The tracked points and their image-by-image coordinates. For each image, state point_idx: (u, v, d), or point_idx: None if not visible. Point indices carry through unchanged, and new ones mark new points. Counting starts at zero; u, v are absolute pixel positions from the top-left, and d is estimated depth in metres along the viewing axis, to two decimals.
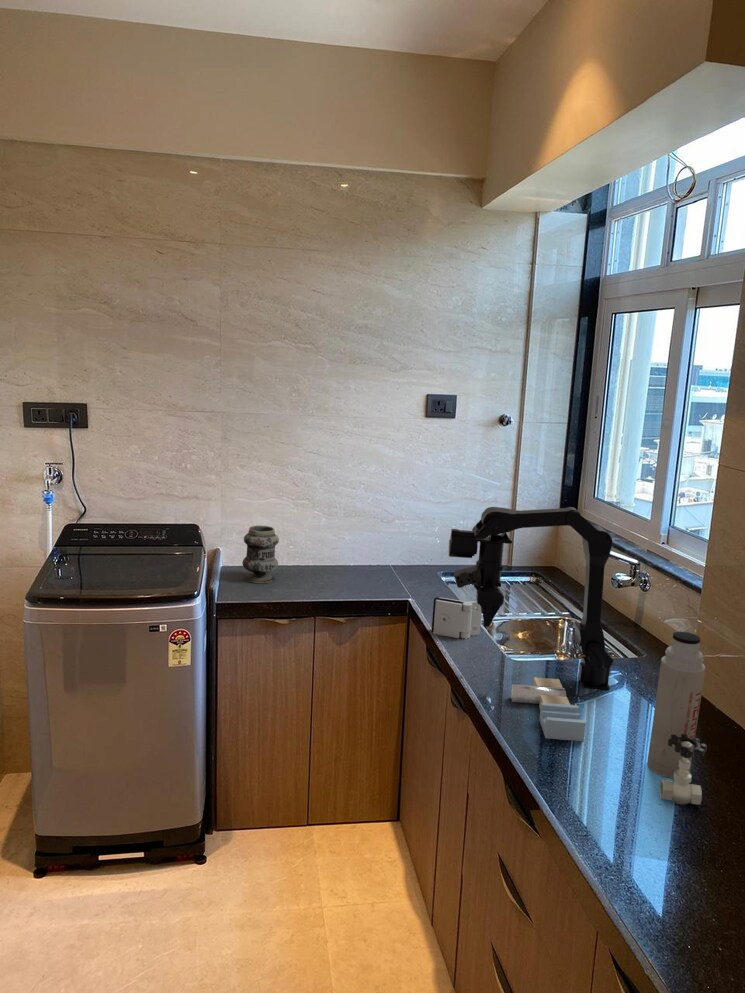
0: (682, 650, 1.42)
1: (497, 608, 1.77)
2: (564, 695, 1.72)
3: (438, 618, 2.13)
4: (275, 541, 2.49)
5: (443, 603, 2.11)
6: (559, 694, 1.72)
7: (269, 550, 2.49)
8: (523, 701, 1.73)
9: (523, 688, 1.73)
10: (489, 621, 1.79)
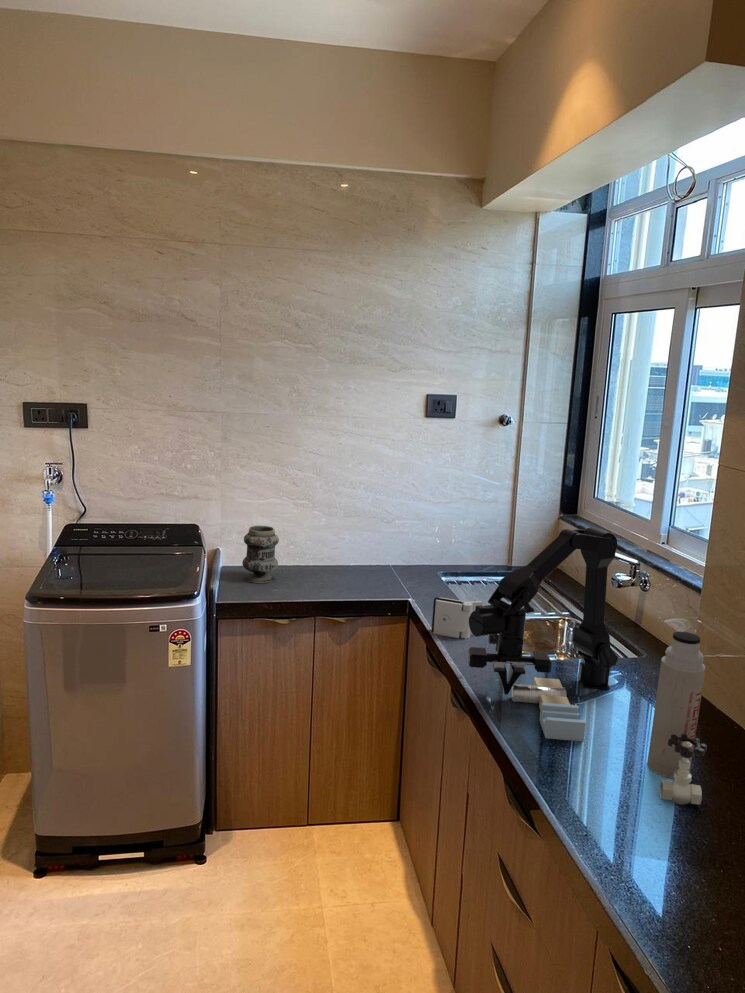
0: (682, 650, 1.42)
1: None
2: (564, 695, 1.72)
3: (438, 618, 2.13)
4: (275, 541, 2.49)
5: (443, 603, 2.11)
6: (559, 694, 1.72)
7: (269, 550, 2.49)
8: (523, 701, 1.73)
9: (523, 687, 1.73)
10: (503, 688, 1.74)
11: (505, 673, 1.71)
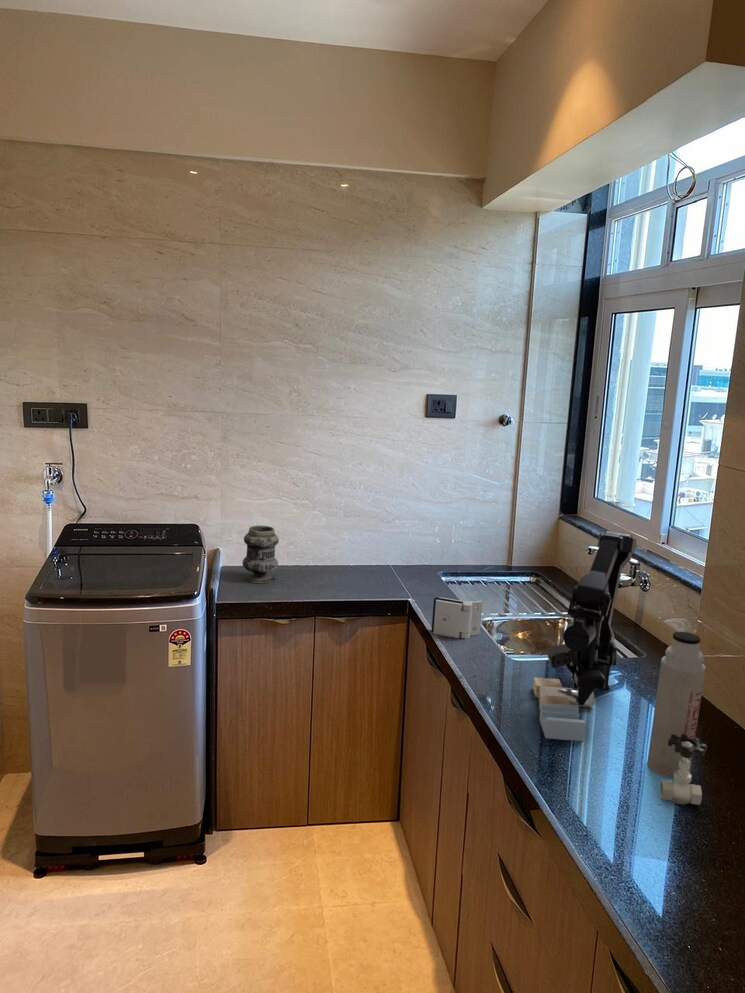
0: (682, 650, 1.42)
1: None
2: (592, 697, 1.72)
3: (438, 618, 2.13)
4: (275, 541, 2.49)
5: (443, 603, 2.11)
6: None
7: (269, 550, 2.49)
8: None
9: (551, 689, 1.73)
10: (584, 699, 1.71)
11: None
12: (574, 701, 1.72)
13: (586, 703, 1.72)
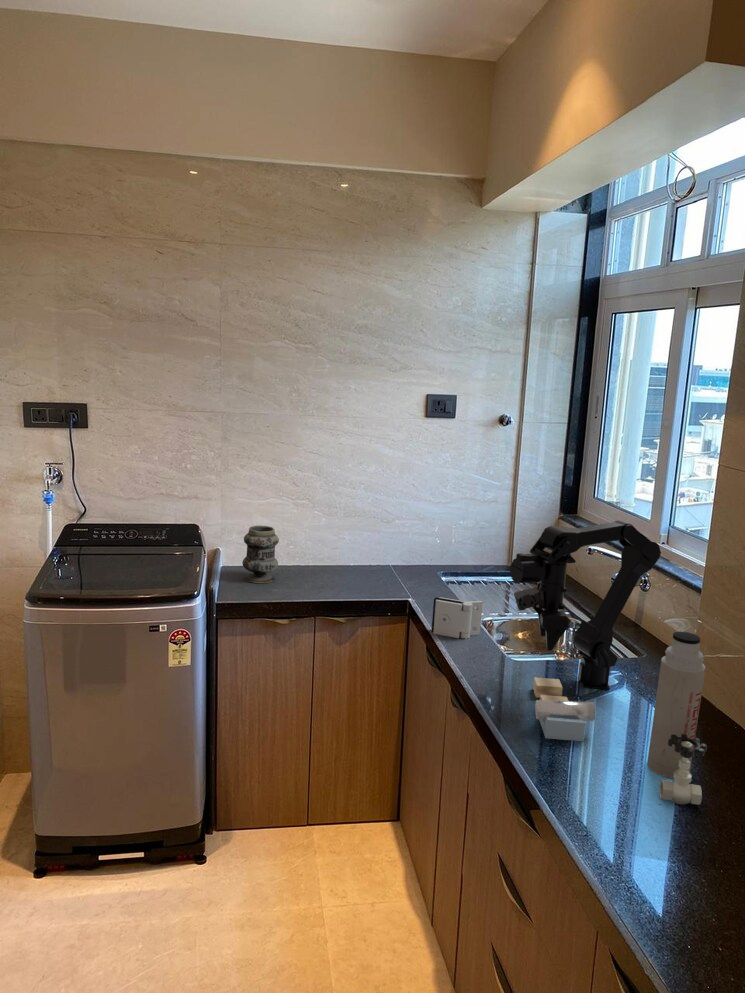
0: (682, 650, 1.42)
1: (562, 632, 1.71)
2: (593, 710, 1.58)
3: (438, 618, 2.13)
4: (275, 541, 2.49)
5: (443, 603, 2.11)
6: (588, 709, 1.59)
7: (269, 550, 2.49)
8: None
9: (548, 704, 1.59)
10: (553, 645, 1.73)
11: None
12: (573, 715, 1.58)
13: (587, 717, 1.58)
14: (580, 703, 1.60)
